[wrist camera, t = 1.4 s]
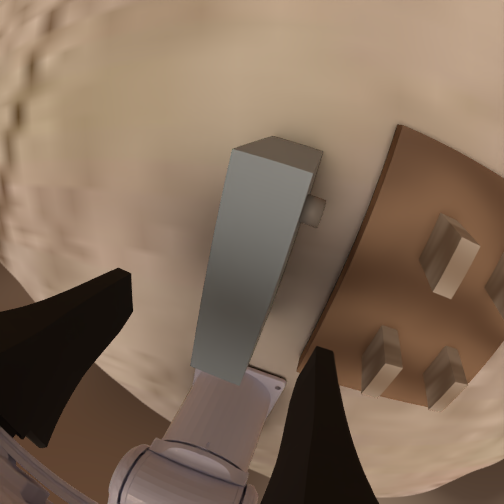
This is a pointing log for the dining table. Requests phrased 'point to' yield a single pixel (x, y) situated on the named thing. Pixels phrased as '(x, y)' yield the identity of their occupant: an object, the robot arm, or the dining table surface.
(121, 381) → the dining table surface
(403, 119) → the dining table surface
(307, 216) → the grey block
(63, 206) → the dining table surface
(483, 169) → the cabinet base
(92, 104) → the dining table surface
